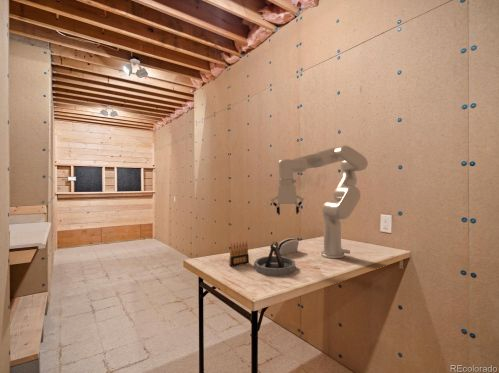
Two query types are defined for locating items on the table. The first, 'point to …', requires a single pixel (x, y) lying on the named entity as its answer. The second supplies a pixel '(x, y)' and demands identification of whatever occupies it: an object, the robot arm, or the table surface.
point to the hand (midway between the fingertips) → (288, 214)
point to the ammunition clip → (238, 254)
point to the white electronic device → (287, 246)
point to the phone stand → (278, 257)
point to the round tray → (287, 269)
